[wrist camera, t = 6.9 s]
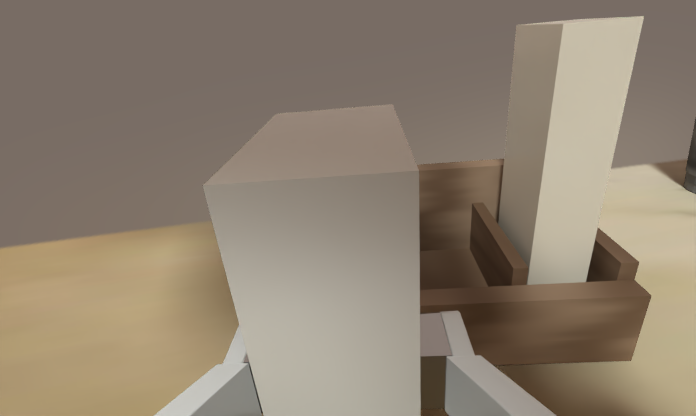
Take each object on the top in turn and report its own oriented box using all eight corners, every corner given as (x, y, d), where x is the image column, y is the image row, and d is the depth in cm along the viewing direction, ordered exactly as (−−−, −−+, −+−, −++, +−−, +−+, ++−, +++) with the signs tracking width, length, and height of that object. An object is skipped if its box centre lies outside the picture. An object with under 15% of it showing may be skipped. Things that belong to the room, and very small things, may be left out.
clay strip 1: (319, 625, 11) (202, 185, 5) (332, 453, 16) (276, 113, 10) (422, 626, 11) (419, 170, 5) (404, 452, 16) (392, 104, 10)
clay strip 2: (523, 307, 21) (563, 23, 15) (495, 257, 25) (516, 25, 19) (580, 304, 21) (643, 16, 15) (541, 255, 25) (577, 19, 19)
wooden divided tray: (312, 371, 20) (290, 248, 17) (327, 264, 29) (316, 171, 26) (631, 360, 19) (672, 227, 16) (543, 253, 28) (559, 155, 25)
